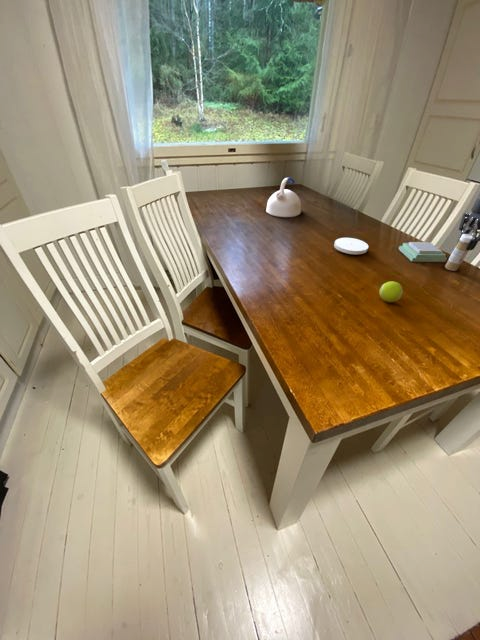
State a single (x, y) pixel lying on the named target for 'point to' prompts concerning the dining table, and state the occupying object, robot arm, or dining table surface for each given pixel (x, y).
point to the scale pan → (424, 248)
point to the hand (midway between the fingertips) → (464, 246)
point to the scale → (421, 255)
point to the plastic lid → (351, 246)
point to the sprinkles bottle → (458, 253)
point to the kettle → (284, 202)
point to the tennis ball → (391, 291)
